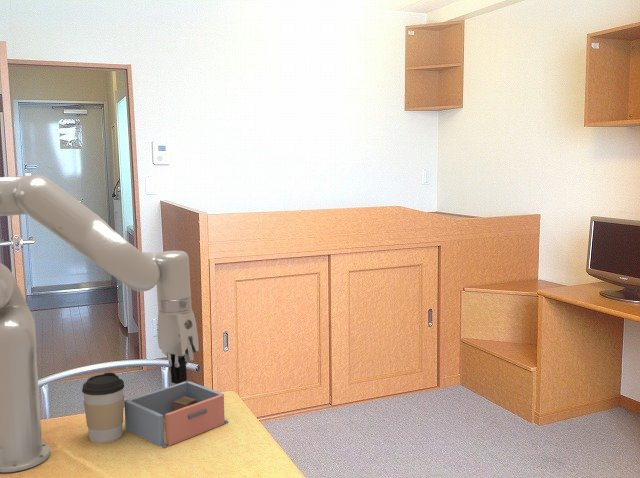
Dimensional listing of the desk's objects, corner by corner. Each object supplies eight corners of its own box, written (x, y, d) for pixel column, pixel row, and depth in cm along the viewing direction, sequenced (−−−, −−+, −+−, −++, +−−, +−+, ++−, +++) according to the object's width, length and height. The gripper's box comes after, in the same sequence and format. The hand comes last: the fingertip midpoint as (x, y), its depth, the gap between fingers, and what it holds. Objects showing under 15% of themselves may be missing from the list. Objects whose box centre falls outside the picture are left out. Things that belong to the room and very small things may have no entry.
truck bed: (164, 453, 138) (163, 418, 137) (125, 433, 148) (124, 400, 147) (228, 427, 151) (227, 395, 150) (188, 411, 161) (187, 380, 161)
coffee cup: (114, 451, 139) (110, 385, 137) (76, 448, 141) (73, 382, 139) (134, 434, 148) (131, 371, 146) (98, 431, 150) (95, 369, 148)
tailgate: (170, 446, 138) (168, 415, 138) (166, 444, 139) (165, 414, 139) (225, 424, 150) (224, 395, 149) (221, 422, 151) (220, 394, 150)
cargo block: (185, 420, 153) (185, 404, 153) (173, 417, 155) (172, 401, 155) (197, 415, 156) (196, 399, 156) (185, 411, 158) (184, 396, 158)
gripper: (208, 306, 144) (212, 384, 146) (169, 297, 154) (173, 370, 156) (180, 312, 138) (185, 393, 141) (142, 303, 148) (147, 379, 150)
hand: (179, 381), depth 148 cm, fingers closed
